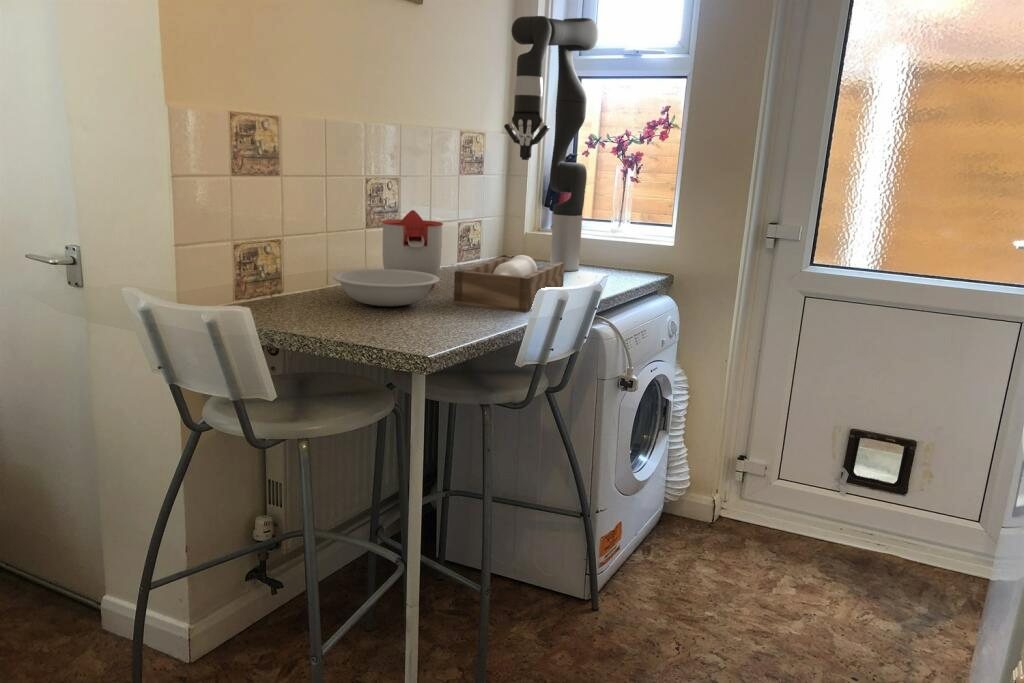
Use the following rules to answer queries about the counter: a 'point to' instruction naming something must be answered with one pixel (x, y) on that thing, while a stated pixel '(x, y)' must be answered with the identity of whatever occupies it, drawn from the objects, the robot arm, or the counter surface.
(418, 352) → the counter surface
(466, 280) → the brown wooden open box
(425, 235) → the citrus juicer
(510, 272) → the bottle
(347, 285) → the soup bowl
